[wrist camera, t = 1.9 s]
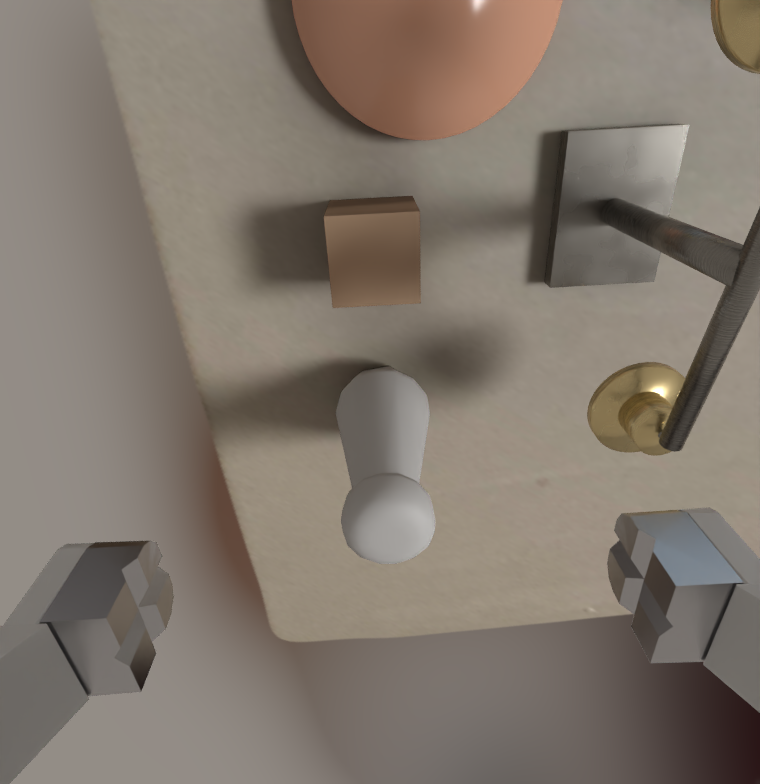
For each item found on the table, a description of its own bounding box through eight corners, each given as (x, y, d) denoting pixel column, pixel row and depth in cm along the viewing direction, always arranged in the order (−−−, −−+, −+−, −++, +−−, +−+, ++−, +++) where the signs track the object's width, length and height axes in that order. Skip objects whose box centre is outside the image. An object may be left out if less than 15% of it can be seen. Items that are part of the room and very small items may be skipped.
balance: (581, -43, 23) (831, -211, 10) (716, -51, 23) (1122, -228, 10) (532, 383, 33) (628, 543, 21) (623, 378, 33) (770, 536, 21)
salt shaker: (442, 400, 34) (480, 549, 23) (374, 443, 36) (377, 602, 24) (390, 337, 32) (404, 467, 20) (319, 386, 33) (296, 532, 22)
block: (329, 200, 28) (323, 216, 24) (412, 195, 28) (419, 211, 24) (337, 280, 30) (332, 307, 26) (413, 276, 30) (420, 303, 26)
